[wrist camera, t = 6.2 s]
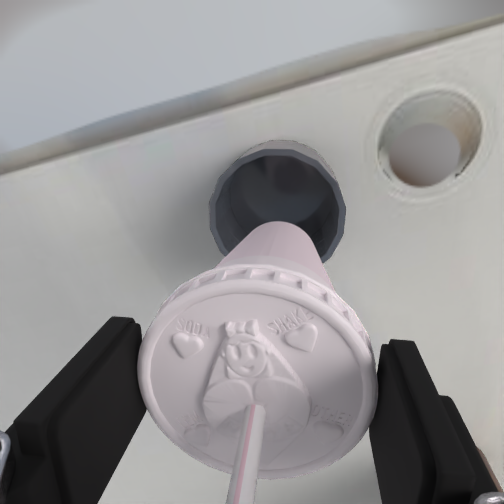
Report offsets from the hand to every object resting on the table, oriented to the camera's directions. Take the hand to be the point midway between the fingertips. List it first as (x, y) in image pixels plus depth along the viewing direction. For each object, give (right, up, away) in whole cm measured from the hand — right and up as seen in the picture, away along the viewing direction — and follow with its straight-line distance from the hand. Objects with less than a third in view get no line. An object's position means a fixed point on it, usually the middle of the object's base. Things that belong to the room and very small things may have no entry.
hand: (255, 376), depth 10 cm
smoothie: (+1, +3, +9) cm, 9 cm away
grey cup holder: (+2, +8, +19) cm, 20 cm away
